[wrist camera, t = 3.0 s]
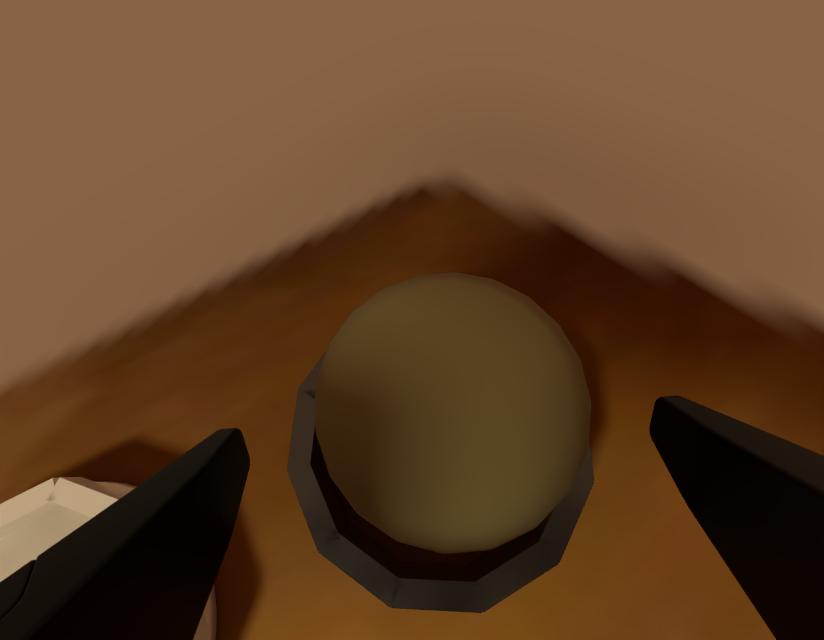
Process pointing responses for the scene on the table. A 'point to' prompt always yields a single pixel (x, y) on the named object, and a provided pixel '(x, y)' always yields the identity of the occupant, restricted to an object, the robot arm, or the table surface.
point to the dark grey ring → (416, 580)
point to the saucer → (65, 526)
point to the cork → (452, 412)
